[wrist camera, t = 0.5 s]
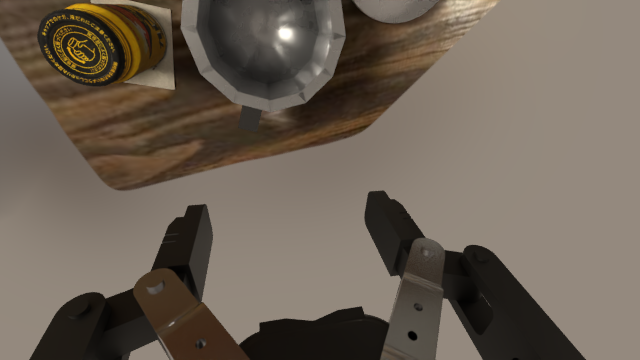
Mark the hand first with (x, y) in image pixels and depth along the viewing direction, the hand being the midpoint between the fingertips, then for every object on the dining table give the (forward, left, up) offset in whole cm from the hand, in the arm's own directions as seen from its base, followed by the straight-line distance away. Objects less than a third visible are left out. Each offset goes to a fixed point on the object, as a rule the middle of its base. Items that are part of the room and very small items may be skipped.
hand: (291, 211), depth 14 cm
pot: (-6, -2, -26) cm, 27 cm away
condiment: (0, -15, -26) cm, 30 cm away
